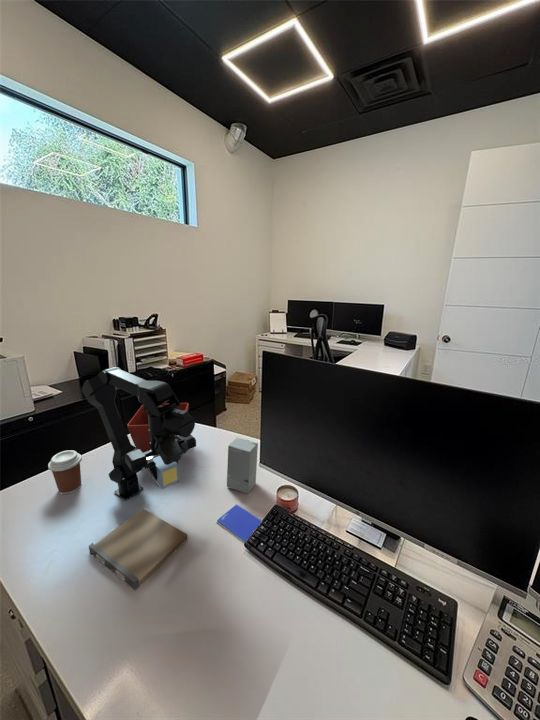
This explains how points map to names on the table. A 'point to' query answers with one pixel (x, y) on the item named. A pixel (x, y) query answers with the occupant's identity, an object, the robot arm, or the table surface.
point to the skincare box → (242, 465)
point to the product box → (165, 473)
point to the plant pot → (145, 428)
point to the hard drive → (239, 522)
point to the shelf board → (138, 547)
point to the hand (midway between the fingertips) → (164, 475)
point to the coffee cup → (66, 471)
